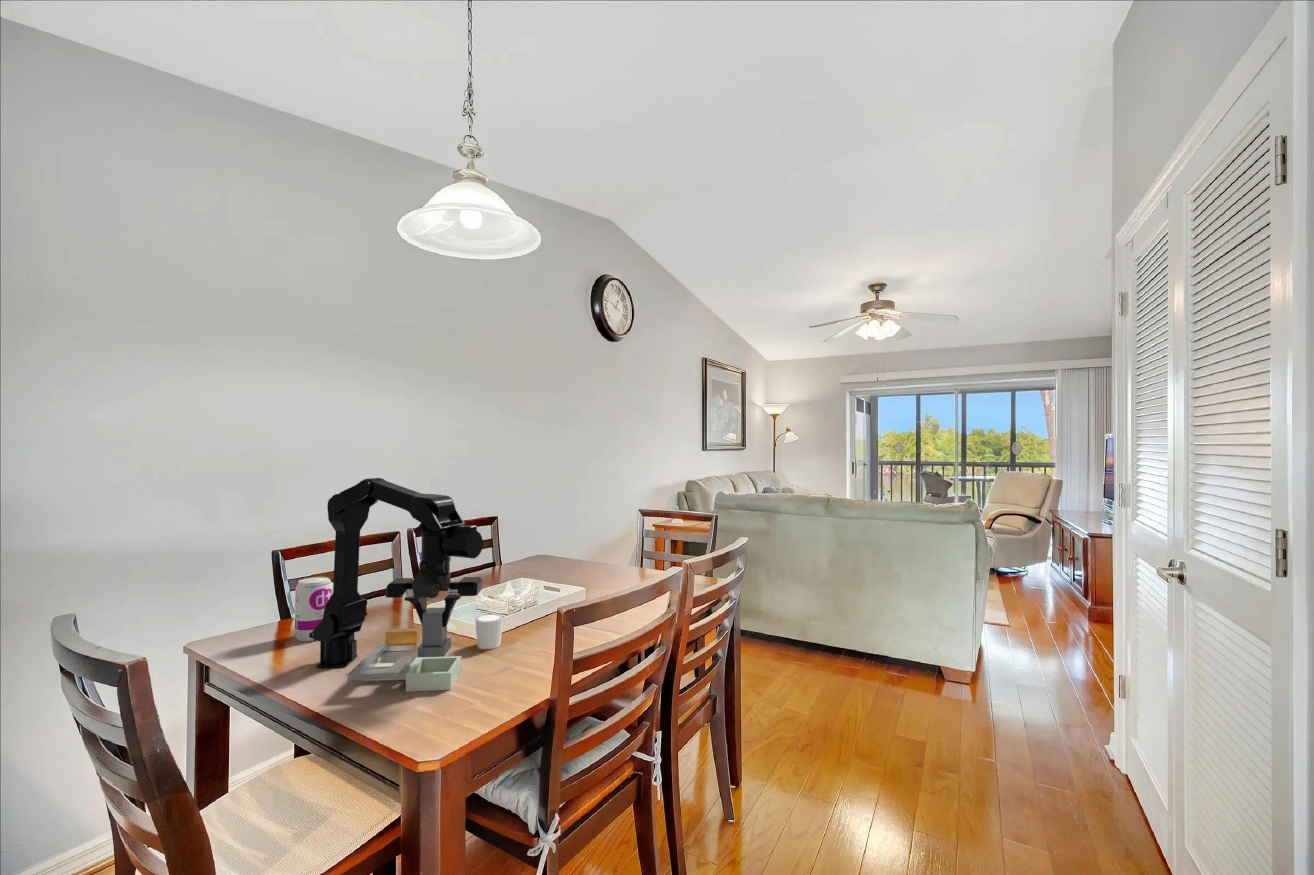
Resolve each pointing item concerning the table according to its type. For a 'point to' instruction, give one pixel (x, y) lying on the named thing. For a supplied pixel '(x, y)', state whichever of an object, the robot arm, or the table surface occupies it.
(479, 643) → the white cup
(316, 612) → the supplement can
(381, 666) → the socket block
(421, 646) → the peg
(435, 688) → the open box
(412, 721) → the table surface
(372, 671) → the plate
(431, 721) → the table surface
